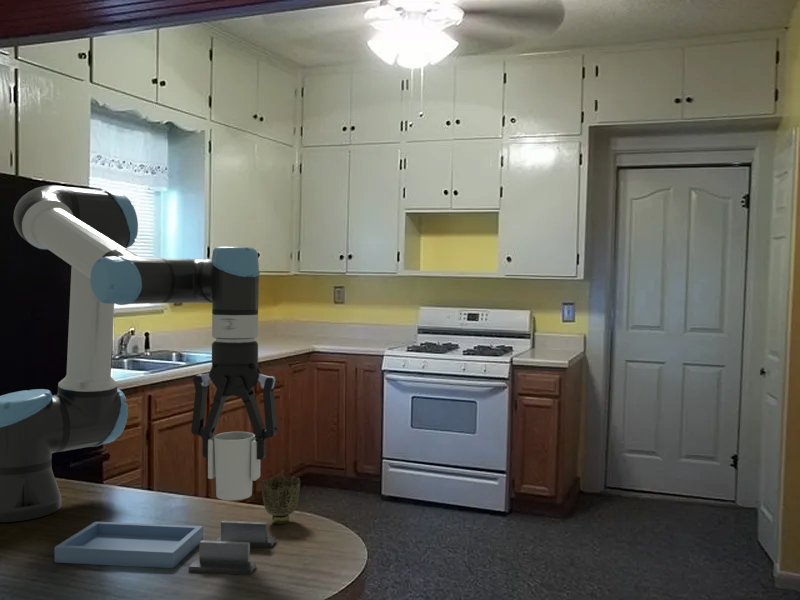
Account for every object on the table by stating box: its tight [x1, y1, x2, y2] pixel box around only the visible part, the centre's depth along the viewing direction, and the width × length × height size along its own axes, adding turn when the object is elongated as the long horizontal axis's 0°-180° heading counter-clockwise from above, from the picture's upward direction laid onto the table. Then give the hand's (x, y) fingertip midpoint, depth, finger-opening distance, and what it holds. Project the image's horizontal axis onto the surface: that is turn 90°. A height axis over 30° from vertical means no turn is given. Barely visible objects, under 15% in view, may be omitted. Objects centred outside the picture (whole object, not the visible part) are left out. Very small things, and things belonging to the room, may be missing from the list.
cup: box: [260, 475, 301, 525], centre depth 142 cm, size 8×7×8 cm
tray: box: [54, 521, 204, 569], centre depth 127 cm, size 13×20×2 cm, turn 84°
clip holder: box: [188, 520, 277, 576], centre depth 125 cm, size 15×10×4 cm, turn 174°
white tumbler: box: [213, 431, 256, 501], centre depth 125 cm, size 7×7×10 cm
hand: (234, 477), depth 125 cm, fingers closed on white tumbler, 7 cm apart
